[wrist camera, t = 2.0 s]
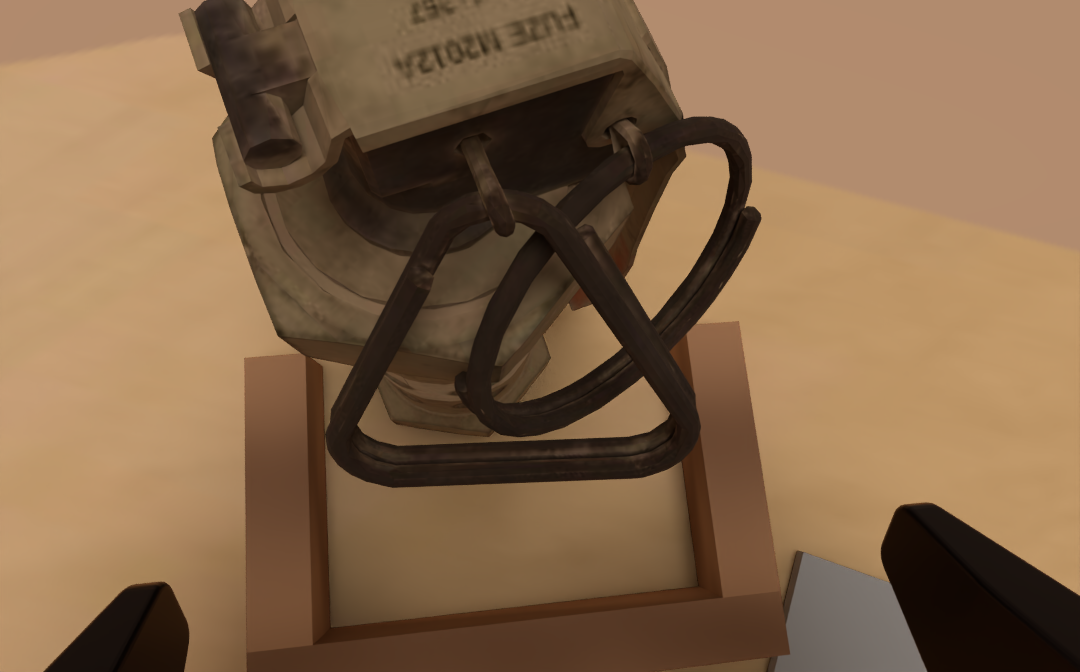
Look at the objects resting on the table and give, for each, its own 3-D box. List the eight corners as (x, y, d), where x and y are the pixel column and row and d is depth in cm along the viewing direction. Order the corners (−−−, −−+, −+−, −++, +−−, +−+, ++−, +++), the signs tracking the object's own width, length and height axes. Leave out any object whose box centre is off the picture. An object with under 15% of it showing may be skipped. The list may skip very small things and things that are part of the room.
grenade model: (437, 530, 19) (298, 676, 5) (352, 301, 20) (25, -175, 6) (647, 443, 20) (1094, 329, 6) (556, 229, 21) (723, -336, 7)
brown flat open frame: (758, 637, 19) (790, 654, 17) (272, 696, 18) (246, 723, 16) (714, 336, 21) (739, 321, 19) (267, 370, 20) (244, 358, 18)
